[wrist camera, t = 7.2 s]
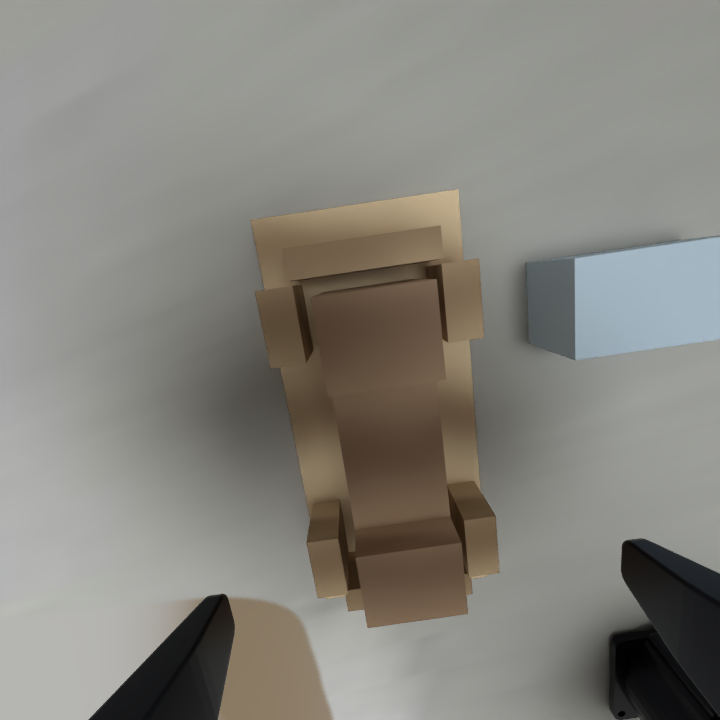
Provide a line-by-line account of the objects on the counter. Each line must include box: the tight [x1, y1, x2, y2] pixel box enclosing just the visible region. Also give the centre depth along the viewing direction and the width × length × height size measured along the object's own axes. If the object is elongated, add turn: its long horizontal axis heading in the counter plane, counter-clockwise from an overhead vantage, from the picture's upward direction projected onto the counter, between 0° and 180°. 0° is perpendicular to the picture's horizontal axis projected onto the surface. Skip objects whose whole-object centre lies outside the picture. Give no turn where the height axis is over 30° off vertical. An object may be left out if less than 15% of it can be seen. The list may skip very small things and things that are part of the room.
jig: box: [251, 189, 499, 611], centre depth 17 cm, size 20×9×4 cm, turn 8°
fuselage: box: [311, 279, 468, 628], centre depth 15 cm, size 13×4×5 cm, turn 8°
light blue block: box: [526, 235, 720, 360], centre depth 16 cm, size 4×8×4 cm, turn 98°
